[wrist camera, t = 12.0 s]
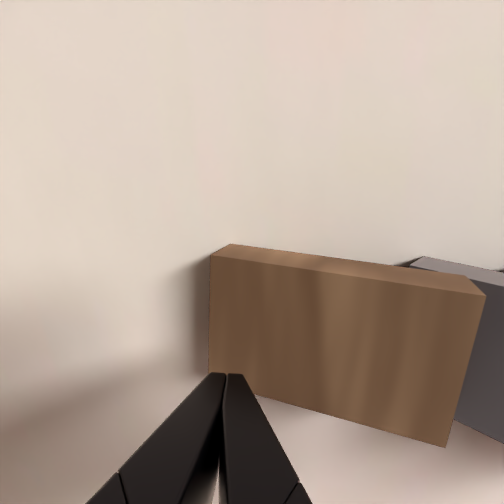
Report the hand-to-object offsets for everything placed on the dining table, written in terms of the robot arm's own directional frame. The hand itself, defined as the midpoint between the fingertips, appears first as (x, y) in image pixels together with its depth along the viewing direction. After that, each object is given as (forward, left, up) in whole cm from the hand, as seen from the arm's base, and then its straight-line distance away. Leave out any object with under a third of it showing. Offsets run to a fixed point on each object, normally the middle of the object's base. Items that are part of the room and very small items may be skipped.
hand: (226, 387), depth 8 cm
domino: (-1, 0, -4) cm, 4 cm away
